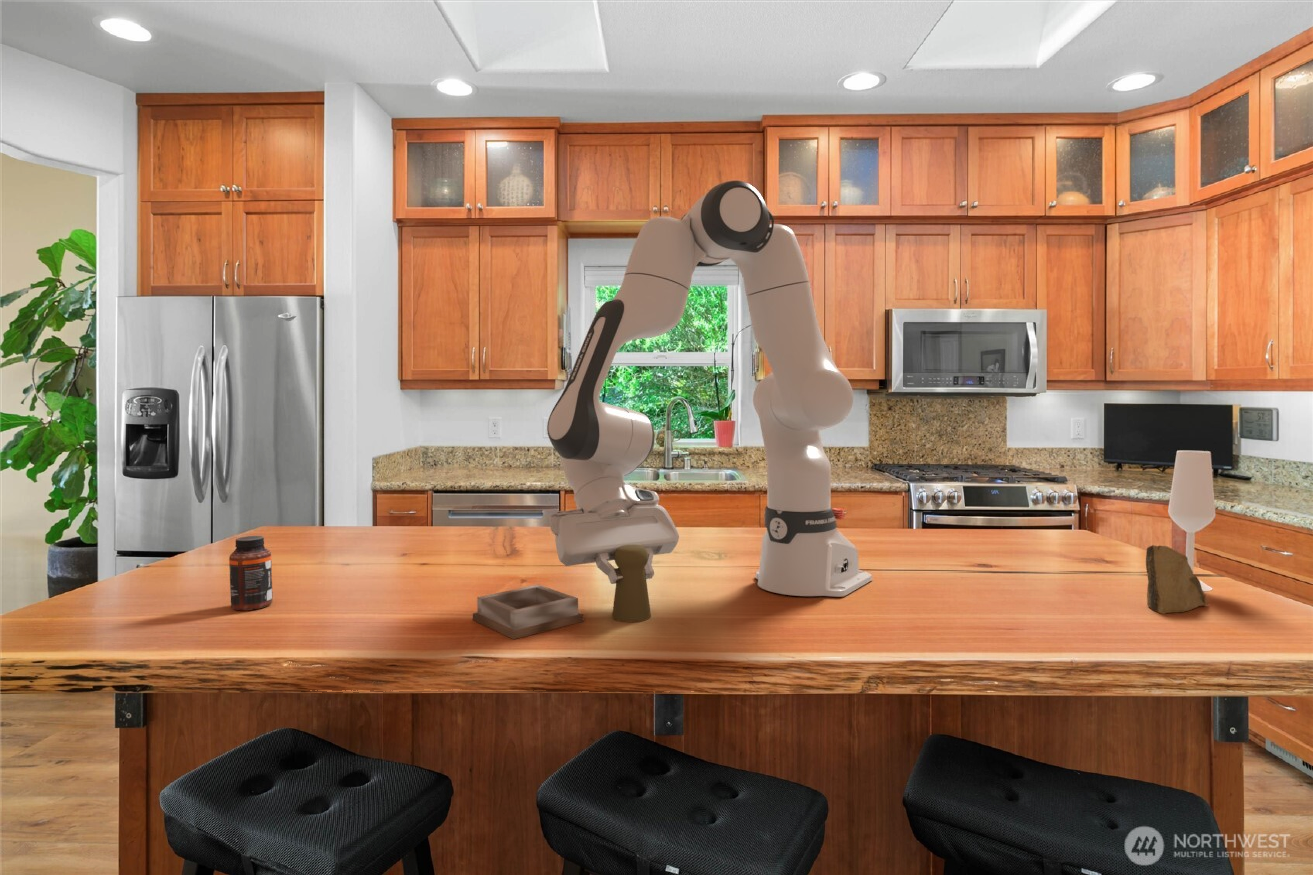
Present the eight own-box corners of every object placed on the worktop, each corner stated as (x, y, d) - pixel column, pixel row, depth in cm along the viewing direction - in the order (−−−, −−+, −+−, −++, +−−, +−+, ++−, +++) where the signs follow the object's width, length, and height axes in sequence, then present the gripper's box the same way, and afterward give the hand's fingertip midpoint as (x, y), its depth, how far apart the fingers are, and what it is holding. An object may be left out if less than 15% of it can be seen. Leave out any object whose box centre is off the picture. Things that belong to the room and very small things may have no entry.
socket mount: (539, 604, 116) (539, 583, 115) (583, 621, 107) (583, 598, 106) (472, 619, 108) (472, 597, 107) (513, 639, 99) (513, 614, 98)
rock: (1193, 584, 118) (1127, 573, 120) (1219, 550, 112) (1150, 540, 114) (1216, 639, 110) (1145, 626, 112) (1245, 606, 105) (1170, 593, 106)
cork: (646, 623, 106) (646, 550, 105) (607, 620, 107) (606, 548, 106) (654, 611, 112) (654, 542, 111) (617, 609, 113) (617, 541, 112)
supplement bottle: (281, 603, 116) (279, 535, 116) (247, 613, 111) (244, 542, 110) (257, 599, 119) (254, 533, 118) (222, 609, 114) (220, 539, 113)
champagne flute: (1220, 588, 124) (1226, 452, 123) (1199, 593, 121) (1204, 453, 120) (1178, 579, 130) (1183, 449, 129) (1157, 583, 127) (1161, 450, 126)
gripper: (550, 500, 109) (575, 576, 101) (665, 491, 119) (696, 560, 111) (541, 524, 113) (564, 599, 105) (652, 514, 123) (681, 581, 115)
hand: (633, 579), depth 108 cm, fingers closed on cork, 4 cm apart
